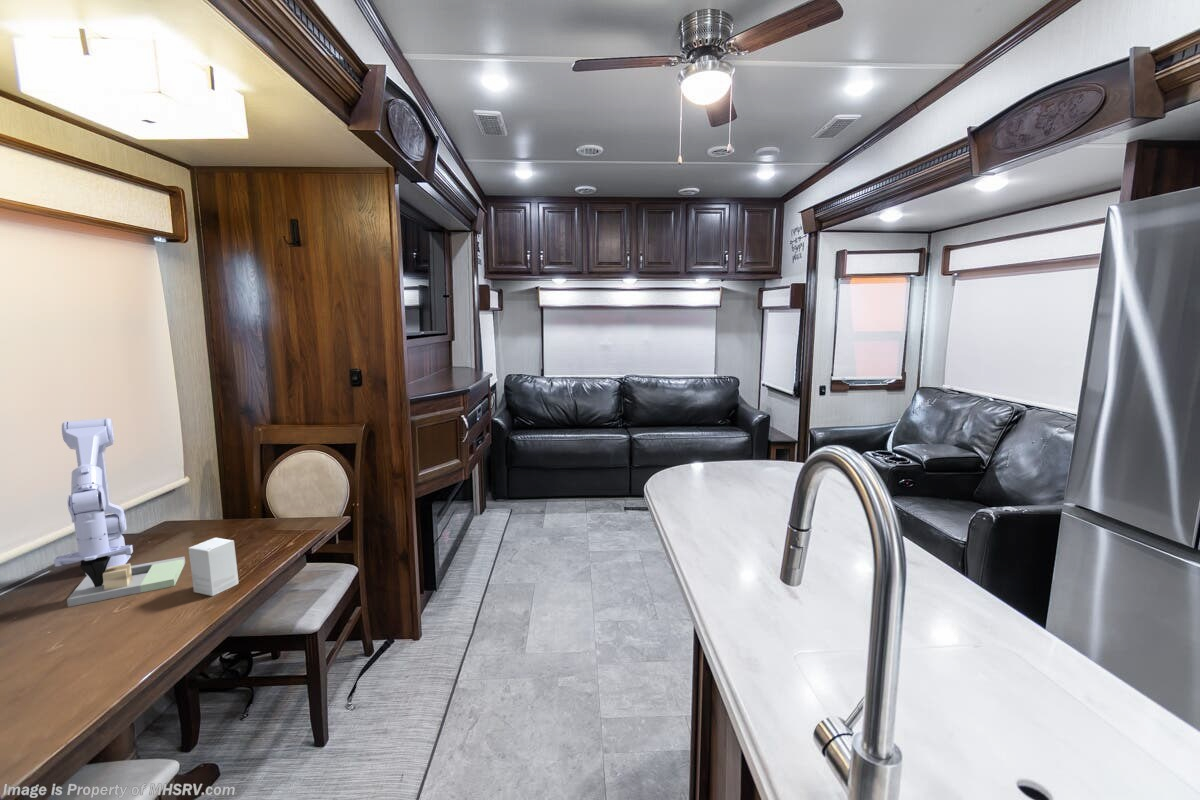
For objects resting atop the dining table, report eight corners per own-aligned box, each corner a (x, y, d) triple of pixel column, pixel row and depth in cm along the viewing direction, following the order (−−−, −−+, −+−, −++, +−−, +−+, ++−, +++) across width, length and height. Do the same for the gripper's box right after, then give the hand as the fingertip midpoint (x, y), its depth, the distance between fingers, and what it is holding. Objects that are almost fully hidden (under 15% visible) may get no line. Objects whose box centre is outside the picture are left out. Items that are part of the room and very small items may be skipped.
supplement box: (239, 583, 141) (235, 540, 139) (212, 597, 134) (206, 551, 132) (220, 579, 143) (216, 536, 142) (192, 592, 136) (187, 547, 135)
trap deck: (89, 580, 143) (88, 573, 142) (185, 562, 153) (184, 556, 153) (68, 607, 129) (66, 599, 129) (174, 585, 140) (173, 579, 139)
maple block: (110, 582, 137) (108, 567, 136) (132, 578, 139) (130, 563, 139) (104, 590, 133) (102, 574, 133) (127, 586, 136) (125, 570, 135)
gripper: (46, 547, 125) (54, 599, 127) (124, 535, 133) (131, 584, 135) (57, 537, 131) (65, 587, 133) (132, 526, 139) (138, 573, 141)
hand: (99, 585), depth 134 cm, fingers closed
